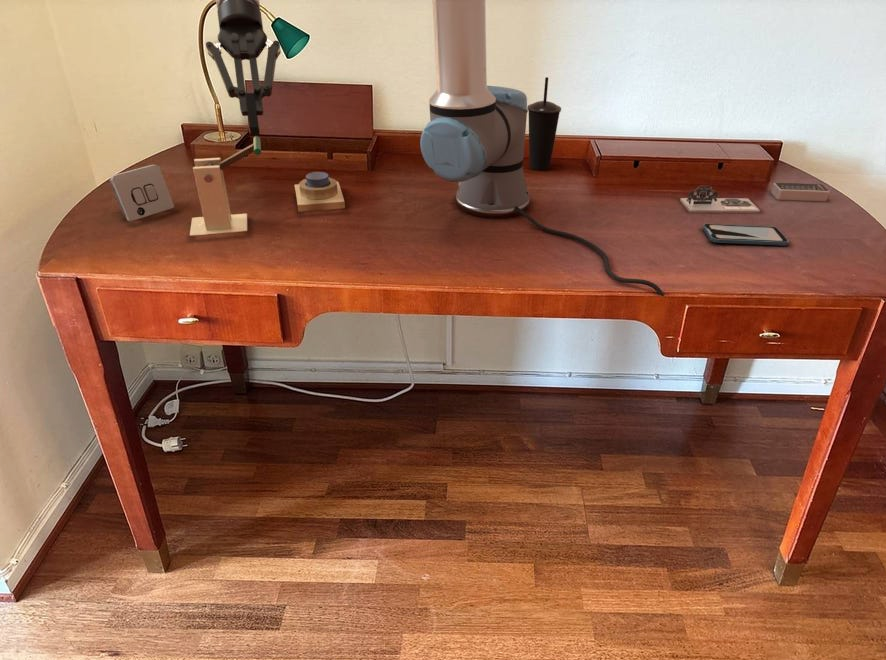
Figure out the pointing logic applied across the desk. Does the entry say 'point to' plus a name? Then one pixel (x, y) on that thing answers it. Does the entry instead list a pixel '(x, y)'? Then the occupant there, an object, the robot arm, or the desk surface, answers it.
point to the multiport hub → (800, 192)
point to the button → (317, 179)
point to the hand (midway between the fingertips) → (254, 131)
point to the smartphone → (745, 234)
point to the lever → (240, 154)
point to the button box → (319, 196)
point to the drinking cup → (542, 131)
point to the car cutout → (716, 202)
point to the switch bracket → (214, 202)
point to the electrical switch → (141, 192)
